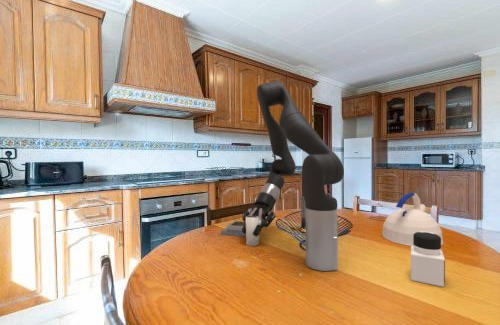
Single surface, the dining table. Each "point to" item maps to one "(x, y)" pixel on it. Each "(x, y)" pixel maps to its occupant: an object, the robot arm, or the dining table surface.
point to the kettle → (409, 222)
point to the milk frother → (303, 219)
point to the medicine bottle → (427, 259)
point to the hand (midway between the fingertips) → (249, 233)
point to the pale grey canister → (251, 230)
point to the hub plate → (234, 229)
